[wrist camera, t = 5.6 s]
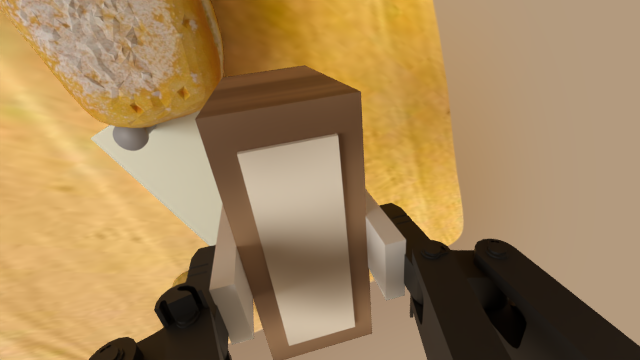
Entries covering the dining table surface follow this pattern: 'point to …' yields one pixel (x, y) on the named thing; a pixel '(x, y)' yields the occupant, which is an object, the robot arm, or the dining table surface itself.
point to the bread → (127, 54)
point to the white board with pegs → (170, 169)
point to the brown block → (294, 201)
